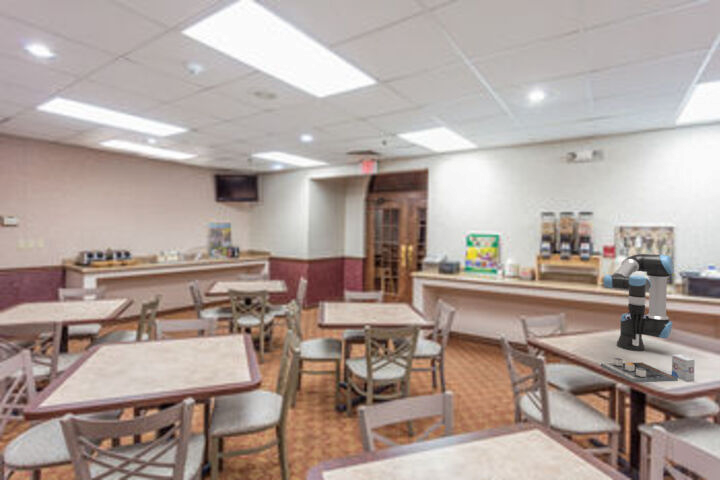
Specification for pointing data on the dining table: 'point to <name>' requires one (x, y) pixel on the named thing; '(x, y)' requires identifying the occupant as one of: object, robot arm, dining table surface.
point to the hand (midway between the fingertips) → (635, 345)
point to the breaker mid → (629, 366)
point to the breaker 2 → (641, 372)
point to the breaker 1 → (618, 362)
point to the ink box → (683, 367)
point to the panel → (651, 375)
